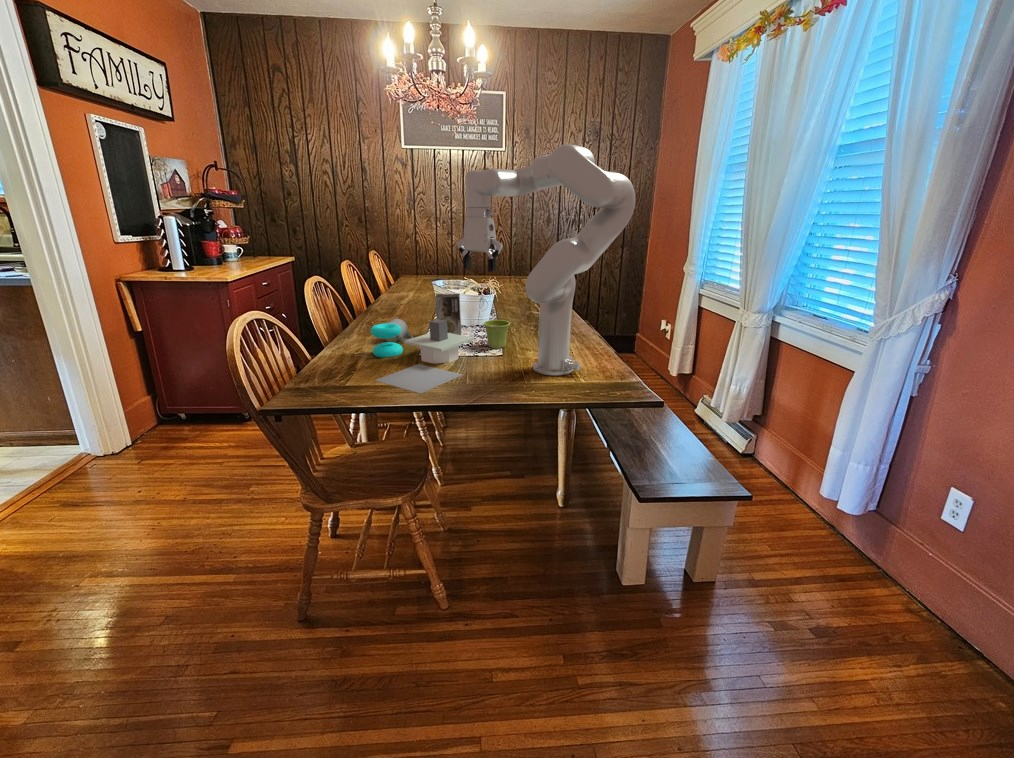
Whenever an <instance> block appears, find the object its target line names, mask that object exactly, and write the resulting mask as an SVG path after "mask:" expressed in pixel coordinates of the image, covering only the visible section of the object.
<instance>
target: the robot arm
mask: <svg viewBox="0 0 1014 758" xmlns="http://www.w3.org/2000/svg"><path fill="white" fill-rule="evenodd" d="M559 186H563V187H565V188H566V189H567V190H569V191H570V192H571V193H572V194H573V195H575V196H576V197H577V198H579V200H581V201H582V202H583V203H585V204H586V205H588V206H590V207H591V208H592V207H593V208H599V210H598V211H597V213H595V214H594V215H593V216H592V217H591V218H590V219H589V220H588V221H587V222H586V224H585V225H584V227H583V228H581V229H580V231H579V232H578V233H577V234H575V236H573V237H571V238H565V239H562V240H559V241H557V242H556V243H554V244H553V245H551V247H550V248H549V249H548V250H547V251H546V253H545V254H544V255H543V257H542V258H541V259H540V260H539V261H538V262H537V264H536V265H535V266H534V267H533V269H532V270H531V271H530V272H529V274H528V276H527V278H526V281H525V286H524V287H525V293H526V295H527V297H528V299H529V300H531V301H532V302H534V303H537V304H540V306H539V307H540V308H539V315H538V316H539V317H538V344H537V345H538V346H537V347H538V351H537V352H538V354H537V361H536V362H534V363H533V364H532V370H533V371H534V372H536V373H538V374H540V375H546V376H565V375H569V374H571V373H572V372H573V371H574V370H575V371H579V370H580V369H581V365H580V361H576V360H575V361H574V360H573V355H571V354H570V347H571V345H570V343H571V328H572V327H571V324H572V323H571V322H572V310H573V302H574V296H575V293H576V282H577V281H576V278H575V275H578V274H582V273H584V272H585V271H588V270H589V269H590V268H591V267H592V266H593V265H594V264H595V262H597V260H598V259H599V258H600V257H601V256H602V255H603V254H604V252H605V251H606V250H607V249H608V248H609V247H610V246H611V244H612V243H613V242H614V241H615V239H616V238H617V237H618V236H619V235H620V234H621V233H622V232H623V230H624V229H625V228H626V227H627V225H628V224H629V222H630V221H631V218H632V216H633V215H634V211H635V207H636V191H635V188H634V186H633V183H632V182H631V180H630V179H629V178H628V177H627V176H625V175H624V174H622V173H619V172H615V171H606V170H604V169H602V168H600V167H599V166H598V165H596V160H595V156H594V154H593V153H592V152H591V150H589V149H588V148H586V147H584V146H580V145H575V144H570V143H564V144H560V145H558V146H557V147H555V149H554V150H552V152H551V153H548V154H544V155H538V156H536V157H535V158H534V159H533V161H532V162H531V165H529V166H525V167H520V168H516V169H508V168H507V169H504V168H487V169H484V170H482V169H481V170H480V169H479V170H478V169H474V170H468V171H467V172H466V173H465V201H466V202H465V203H466V204H465V205H466V207H465V208H466V218H464V219H465V220H464V223H463V224H464V226H463V237H462V238H461V239H460V240H458V241H456V245H457V248H458V251H459V253H460V254H461V257H462V258H463V270H470V269H472V256H471V253H472V252H475V253H485V254H487V256H488V257H489V258H488V259H487V271H488V272H489V273H492V272H495V271H496V268H497V259H498V257H499V255H500V254H501V251H502V249H503V247H504V245H503V244H502V243H501V242H500V241H498V240H497V236H496V233H497V232H496V226H495V221H494V218H492V215H494V209H492V208H491V207H492V206H491V205H492V201H491V199H492V198H491V197H507V198H508V197H518V196H522V195H527V194H531V193H535V192H539V191H542V190H545V189H546V190H547V189H550V188H555V187H559Z"/></svg>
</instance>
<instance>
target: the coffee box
mask: <svg viewBox="0 0 1014 758" xmlns="http://www.w3.org/2000/svg"><path fill="white" fill-rule="evenodd" d="M435 310H436V311H435V312H436V320H437V319H439V320H445V321H447V330H448V333H452V334H457V335H462V334H463V333H462V317H461V316H462V315H461V294H460V293H437V294H435ZM462 336H463V335H462Z"/></svg>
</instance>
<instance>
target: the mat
mask: <svg viewBox="0 0 1014 758" xmlns="http://www.w3.org/2000/svg"><path fill="white" fill-rule="evenodd" d="M462 376H463V374H462V373H458V372H453V371H449V370H445V369H441V368H437V367H432V366H428V365H425V364H421V363H417V364H413V365H411V366H409V367H407V368H404V369H402V370H401V369H400V370H399V371H396V372H393V373H390V374H388V375H387V374H386V375H384V376H383V377H378V378H376V379H374V381H375V382H379V383H383V384H386V385H389V386H393V387H397V388H400V389H403V390H407V391H409V392H414V393H418V394H423V393H426V392H427V391H430V390H432V389H435V388H437V387H440V386H441V385H444V384H445V383H447V382H450V381H452V380H454V379H456V378H459V377H462Z"/></svg>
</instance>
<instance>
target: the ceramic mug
mask: <svg viewBox="0 0 1014 758" xmlns="http://www.w3.org/2000/svg"><path fill="white" fill-rule="evenodd" d="M388 323H392V324H397V325H399V326H400V327H401V333H400V334H399V335H398V336H396V337H393V338H383V339H384V340H385V341H386V342H393V343H397V342H399V341H401V342H403V343H404V341H405V340H409V339H412V338H414V336H413V334H411V333H410V332H409V328H408V325H407V323H406V322H405V321H404V320H403V319H400V318H394V319H391V320H390V321H389V322H388ZM406 337H408V338H406Z"/></svg>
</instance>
